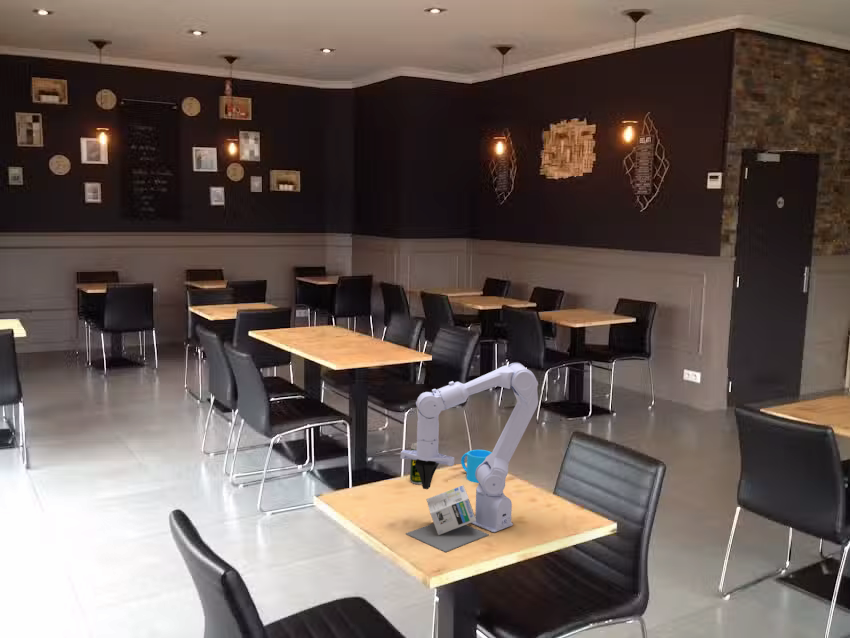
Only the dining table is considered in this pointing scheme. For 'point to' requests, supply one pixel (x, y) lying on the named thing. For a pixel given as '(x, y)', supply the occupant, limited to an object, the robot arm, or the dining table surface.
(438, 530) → the light bulb box
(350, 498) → the dining table surface
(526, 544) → the dining table surface
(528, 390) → the robot arm
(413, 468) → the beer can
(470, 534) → the charcoal rubber mat
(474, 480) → the mug
